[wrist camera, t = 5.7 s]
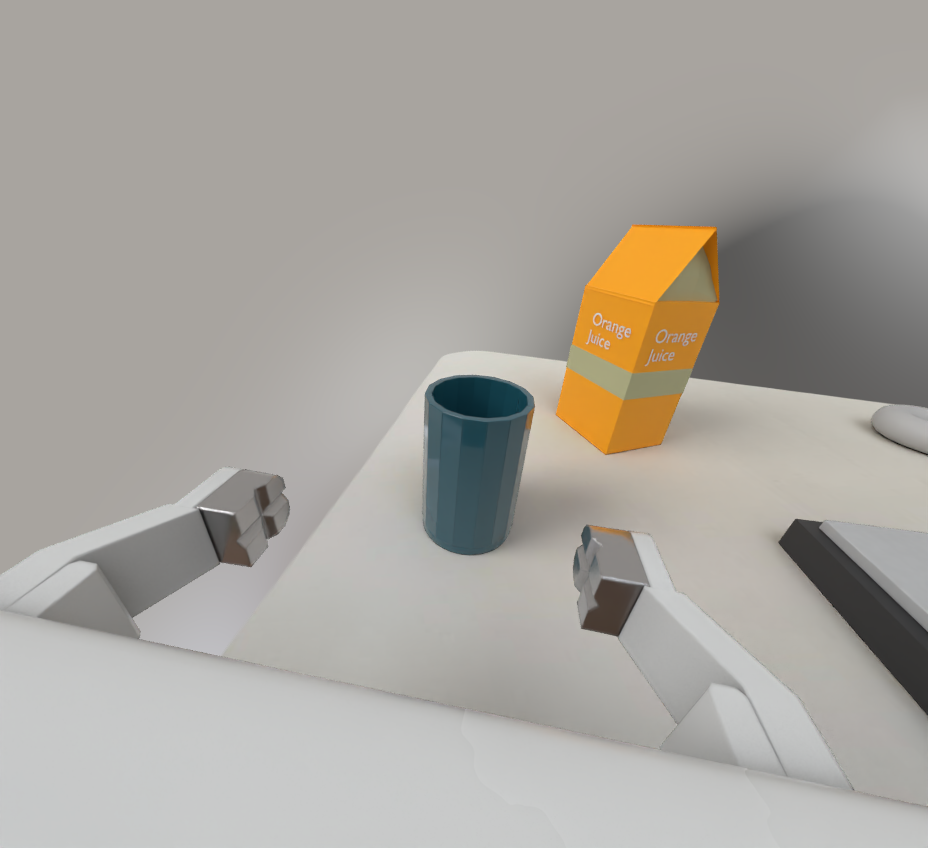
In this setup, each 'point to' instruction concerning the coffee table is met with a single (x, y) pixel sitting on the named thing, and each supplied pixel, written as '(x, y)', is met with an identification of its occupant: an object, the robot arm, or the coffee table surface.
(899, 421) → the donut
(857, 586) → the scale
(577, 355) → the orange juice
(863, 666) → the coffee table surface
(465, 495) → the cup
